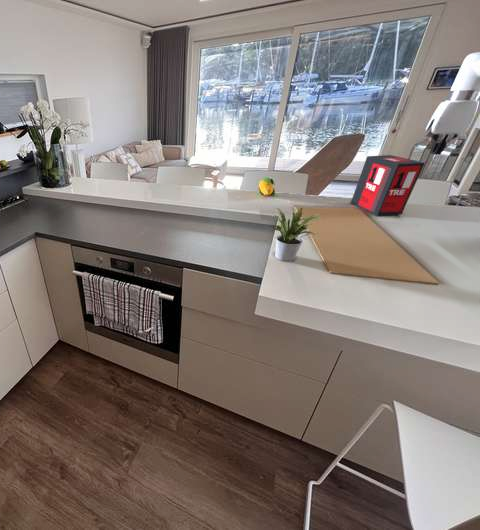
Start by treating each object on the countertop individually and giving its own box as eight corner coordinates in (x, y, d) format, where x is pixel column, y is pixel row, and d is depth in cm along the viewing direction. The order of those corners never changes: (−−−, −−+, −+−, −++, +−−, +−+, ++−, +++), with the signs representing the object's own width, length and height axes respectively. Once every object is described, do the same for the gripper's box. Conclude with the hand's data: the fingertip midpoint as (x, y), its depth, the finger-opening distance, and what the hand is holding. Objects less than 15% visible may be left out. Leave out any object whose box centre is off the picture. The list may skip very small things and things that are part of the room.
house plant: (319, 273, 81) (337, 219, 73) (265, 268, 85) (277, 216, 77) (306, 251, 93) (321, 202, 85) (260, 247, 97) (270, 200, 89)
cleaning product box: (350, 203, 128) (367, 156, 118) (371, 202, 127) (390, 155, 117) (377, 216, 114) (398, 164, 104) (401, 215, 113) (424, 162, 103)
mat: (358, 209, 121) (359, 208, 120) (438, 284, 74) (439, 283, 73) (294, 207, 128) (294, 206, 128) (330, 273, 81) (330, 272, 81)
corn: (274, 174, 149) (279, 184, 133) (272, 189, 152) (277, 200, 136) (258, 175, 151) (262, 185, 135) (257, 189, 155) (260, 201, 139)
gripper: (484, 95, 97) (454, 152, 107) (428, 97, 102) (405, 152, 111) (500, 95, 91) (468, 155, 101) (440, 98, 96) (415, 155, 105)
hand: (435, 153), depth 106 cm, fingers closed
